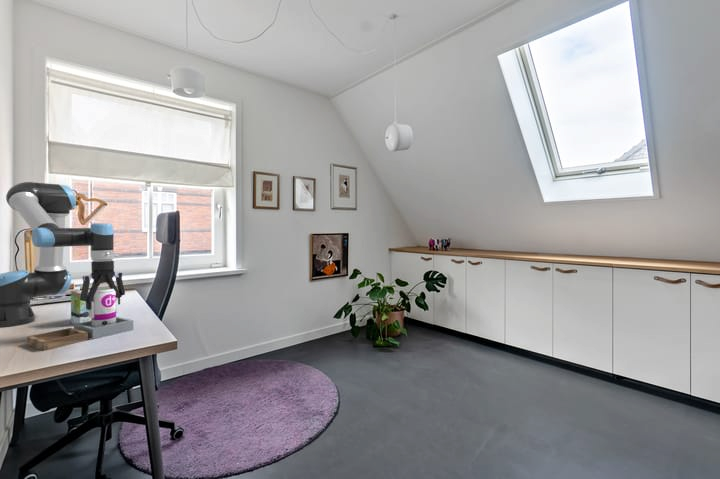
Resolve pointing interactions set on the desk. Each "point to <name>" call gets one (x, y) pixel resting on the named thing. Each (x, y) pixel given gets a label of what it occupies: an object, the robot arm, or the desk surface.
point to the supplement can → (104, 307)
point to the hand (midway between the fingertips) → (103, 314)
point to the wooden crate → (57, 338)
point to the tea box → (79, 308)
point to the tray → (105, 328)
